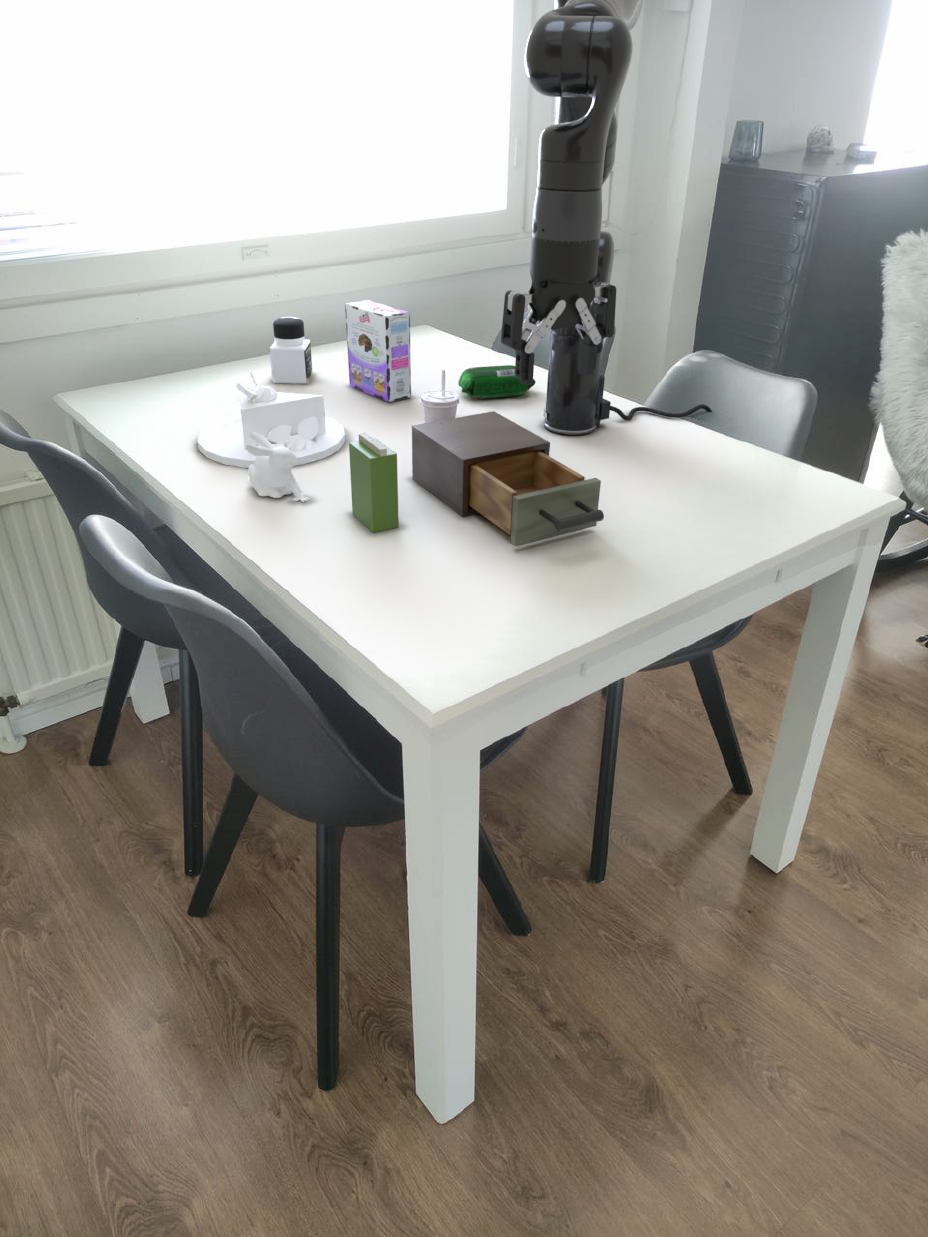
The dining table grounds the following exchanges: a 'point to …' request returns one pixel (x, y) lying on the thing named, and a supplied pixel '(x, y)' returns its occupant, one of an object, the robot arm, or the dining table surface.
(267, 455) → the rabbit figurine
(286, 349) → the medicine bottle
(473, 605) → the dining table surface
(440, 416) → the smoothie
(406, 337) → the candy box
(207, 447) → the dish
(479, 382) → the snack package
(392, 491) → the green rectangular block
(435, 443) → the cabinet
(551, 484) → the drawer
